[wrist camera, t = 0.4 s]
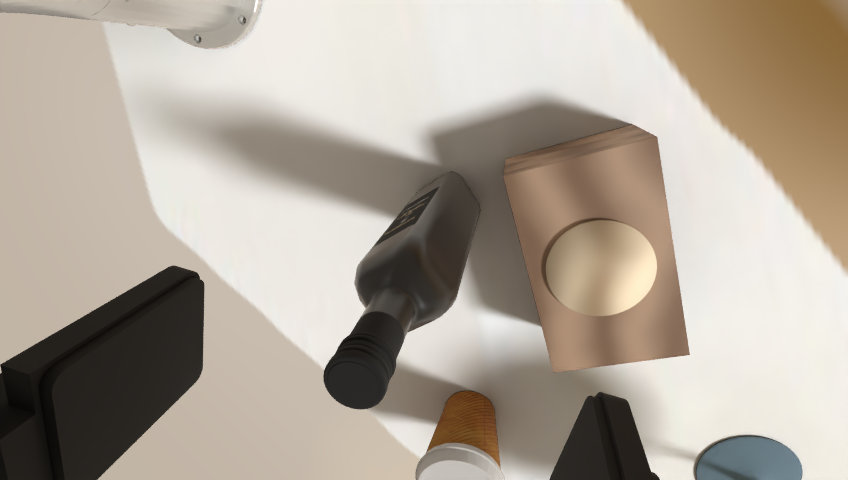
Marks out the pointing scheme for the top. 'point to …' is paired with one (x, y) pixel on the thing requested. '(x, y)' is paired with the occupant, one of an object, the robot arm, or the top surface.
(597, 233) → the brown rectangular block
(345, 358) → the wine bottle
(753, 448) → the cocktail glass
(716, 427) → the top surface
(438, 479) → the disposable coffee cup
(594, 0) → the top surface
